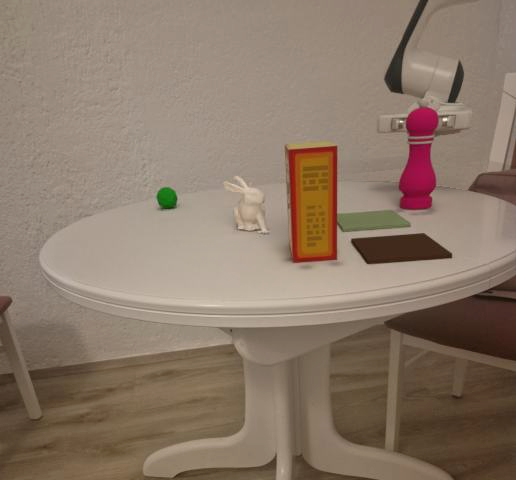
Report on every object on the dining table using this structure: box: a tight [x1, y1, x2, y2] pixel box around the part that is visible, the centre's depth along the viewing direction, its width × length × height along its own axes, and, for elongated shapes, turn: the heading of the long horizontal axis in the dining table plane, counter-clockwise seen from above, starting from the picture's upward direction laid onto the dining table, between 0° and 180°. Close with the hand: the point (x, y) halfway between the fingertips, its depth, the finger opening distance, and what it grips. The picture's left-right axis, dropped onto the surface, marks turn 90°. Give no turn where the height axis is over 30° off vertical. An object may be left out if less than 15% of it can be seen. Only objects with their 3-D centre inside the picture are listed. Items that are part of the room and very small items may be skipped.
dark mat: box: [350, 232, 453, 265], centre depth 73 cm, size 12×12×1 cm
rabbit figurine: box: [222, 175, 270, 235], centre depth 90 cm, size 12×8×10 cm, turn 5°
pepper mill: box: [398, 98, 439, 210], centre depth 95 cm, size 7×7×20 cm
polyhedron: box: [156, 186, 179, 210], centre depth 116 cm, size 5×5×5 cm
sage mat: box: [337, 209, 412, 233], centre depth 90 cm, size 12×12×1 cm
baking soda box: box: [284, 140, 338, 264], centre depth 72 cm, size 10×6×16 cm
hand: (422, 123), depth 103 cm, fingers open, 8 cm apart
